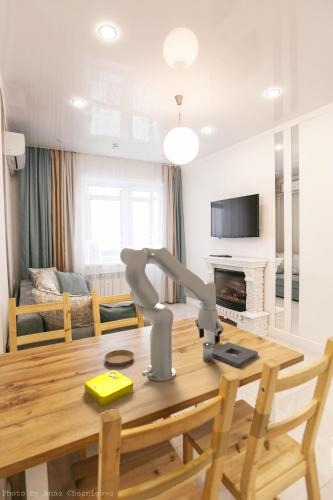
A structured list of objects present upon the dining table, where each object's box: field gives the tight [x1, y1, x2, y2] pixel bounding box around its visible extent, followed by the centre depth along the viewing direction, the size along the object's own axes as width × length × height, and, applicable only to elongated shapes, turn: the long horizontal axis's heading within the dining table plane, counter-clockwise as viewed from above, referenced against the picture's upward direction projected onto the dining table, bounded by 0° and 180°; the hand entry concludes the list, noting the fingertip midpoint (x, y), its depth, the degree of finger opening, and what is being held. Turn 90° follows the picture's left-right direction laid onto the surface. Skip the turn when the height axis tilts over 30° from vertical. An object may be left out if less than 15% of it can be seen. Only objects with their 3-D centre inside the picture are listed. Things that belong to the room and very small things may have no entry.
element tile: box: [84, 369, 134, 408], centre depth 106 cm, size 15×15×5 cm
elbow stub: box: [202, 342, 215, 363], centre depth 132 cm, size 5×5×8 cm
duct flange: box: [213, 341, 259, 368], centre depth 137 cm, size 18×18×2 cm
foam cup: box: [204, 318, 221, 345], centre depth 155 cm, size 10×9×13 cm
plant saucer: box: [104, 349, 135, 367], centre depth 133 cm, size 15×15×3 cm
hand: (209, 339), depth 132 cm, fingers open, 9 cm apart
